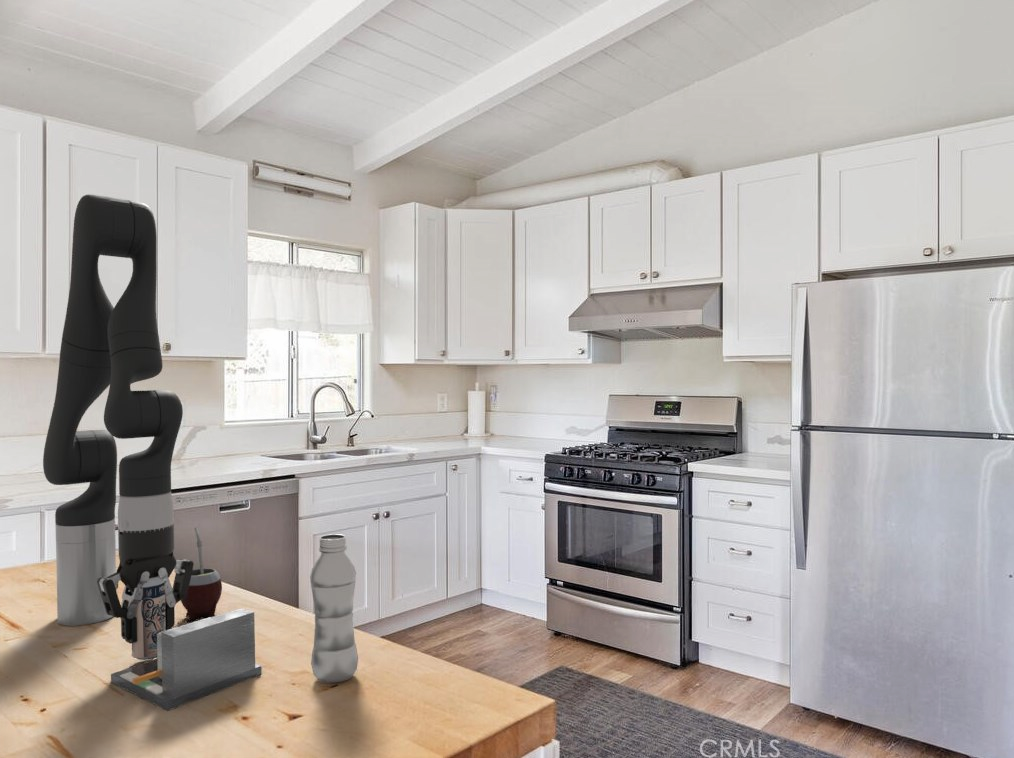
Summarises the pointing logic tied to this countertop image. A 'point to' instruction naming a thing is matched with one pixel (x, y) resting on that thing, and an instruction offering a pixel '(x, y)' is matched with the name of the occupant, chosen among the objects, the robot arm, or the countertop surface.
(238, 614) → the gauge base
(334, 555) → the plastic bottle
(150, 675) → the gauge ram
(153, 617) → the beer can
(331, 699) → the countertop surface
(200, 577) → the mate gourd
